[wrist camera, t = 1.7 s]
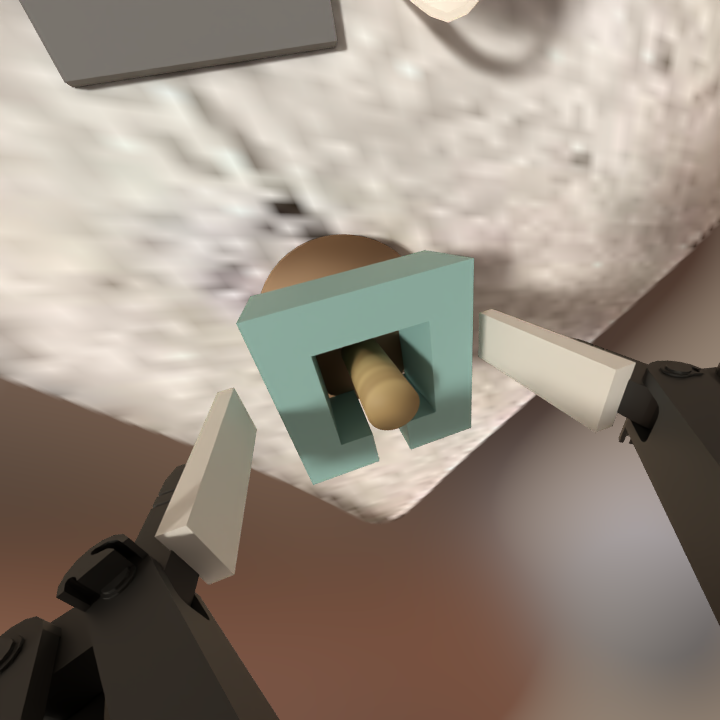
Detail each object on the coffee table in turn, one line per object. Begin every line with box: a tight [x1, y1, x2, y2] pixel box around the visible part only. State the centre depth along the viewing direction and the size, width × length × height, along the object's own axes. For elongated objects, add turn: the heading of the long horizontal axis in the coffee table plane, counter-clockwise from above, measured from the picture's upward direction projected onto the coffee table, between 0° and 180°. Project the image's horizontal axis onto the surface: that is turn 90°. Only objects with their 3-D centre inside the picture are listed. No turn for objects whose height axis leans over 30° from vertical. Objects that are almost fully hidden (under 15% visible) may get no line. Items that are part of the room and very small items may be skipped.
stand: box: [261, 234, 420, 430], centre depth 15 cm, size 12×12×10 cm
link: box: [236, 250, 474, 485], centre depth 13 cm, size 9×9×4 cm
